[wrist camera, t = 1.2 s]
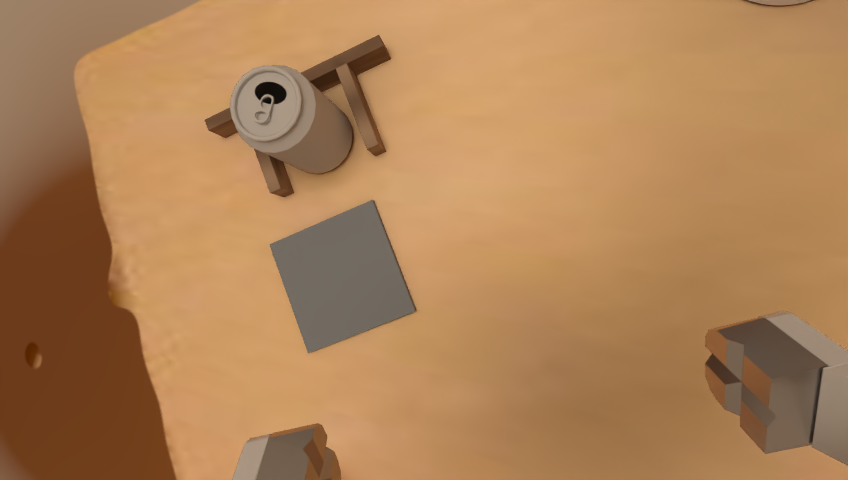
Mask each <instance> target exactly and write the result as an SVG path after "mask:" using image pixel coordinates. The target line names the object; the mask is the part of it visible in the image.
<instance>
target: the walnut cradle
mask: <svg viewBox="0 0 848 480" xmlns="http://www.w3.org/2000/svg"><path fill="white" fill-rule="evenodd" d="M389 59H391V58H390V56H389V53H388V51H387V48H386V47H385V45H384V43H383V41H382V40H381V38H380V36H379V35H377V36H375V37H373V38H371V39H369V40H367V41H365V42H363V43H361V44H359V45H357V46H355V47H353V48H351V49H349V50H347V51H345V52H343V53H341V54H339V55H337V56H334V57H332V58H330V59H328V60H326V61H324V62H322V63H320V64H318V65H316V66H314V67H312V68H310V69H308V70H306V71H304V72H302V73H301V74H302V75H303V76H304V77H305V78H306V79H307V80H308V81H310V82H311V83H312V84H313V85H314V86H315V87H316V88H317V89H318V90H319V91H320V92H322V91H324V90H327V89H329V88H331V87H333V86H335V85H337V84H339V83H341V84H342V86H343V89H344V91H345V94H346V96H347V99H348V102H349V104H350V107H351V109H352V112H353V114H354V117H355V120H356V122H357V125H358V127H359V130H360V132H361V135H362V138H363V140H364V143H365V145H366V148H367V150H369V151H370V152H371V153H372V154H374V155H375V156H377V155H379V154H381V153H384V152H386V150H385V147H384V145H383V142H382V140H381V137H380V135H379V132H378V130H377V127H376V125H375V122H374V119H373V117H372V114H371V112H370V109H369V107H368V104H367V102H366V99H365V97H364V94H363V92H362V89H361V86H360V84H359V81H358V79H357V76H356V75H358V74H360V73H362V72H364V71H366V70H368V69H370V68H373V67H375V66H377V65H379V64H381V63H383V62H385V61H387V60H389ZM205 122H206V125H207V128H208V130H209V131H211V132H213V133H216V134H218V135H220V136H222V137H225V138H226V137H228V136H230V135H232V134H235V133H237V132H238V131H237V129H236V127H235V124H234V122H233V120H232V116H231V111H230V108H228V109H226V110H224V111H222V112H220V113H218V114H216V115H214V116H212V117H210V118H208V119H205ZM254 150H255V152H256V155H257V158H258V161H259V164H260V166H261V169H262V172H263V175H264V177H265V180H266V183H267V186H268V189H269V191H270V193H272V194H275V195H279V196H282V197H285V196H288V195H290V194H292V193H294V191H293V189H292V186H291V183H290V181H289V178H288V175H287V172H286V170H285V167H284V164H283V161H281V160H278V159H276V158H274V157H272V156H270V155H267V154H265V153H263V152H261V151H259V150H256V149H254Z"/></svg>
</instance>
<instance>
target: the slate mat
mask: <svg viewBox="0 0 848 480" xmlns="http://www.w3.org/2000/svg"><path fill="white" fill-rule="evenodd" d="M270 247H271V250H272V253H273V256H274V258H275V261H276V264H277V267H278V270H279V273H280V275H281V278H282V281H283V284H284V287H285V289H286V292H287V295H288V298H289V301H290V303H291V306H292V309H293V312H294V315H295V318H296V320H297V323H298V326H299V329H300V332H301V334H302V337H303V340H304V343H305V346H306V348H307V351H308V353H310V352H313V351H315V350H318V349H320V348H323V347H326V346H328V345H331V344H333V343H336V342H338V341H341V340H344V339H346V338H349V337H351V336H354V335H356V334H359V333H361V332H364V331H367V330H369V329H372V328H374V327H377V326H379V325H382V324H384V323H387V322H390V321H392V320H395V319H397V318H400V317H402V316H405V315H408V314H410V313H413V312H415V311H416V308H415V306H414V303H413V301H412V298H411V295H410V293H409V290H408V288H407V285H406V282H405V280H404V277H403V275H402V272H401V269H400V267H399V264H398V262H397V259H396V256H395V254H394V251H393V249H392V246H391V243H390V241H389V238H388V236H387V233H386V231H385V228H384V225H383V223H382V220H381V218H380V215H379V212H378V210H377V207H376V205H375V202H374V201H373V200H371V201H369V202H367V203H364V204H362V205H360V206H357V207H355V208H353V209H350V210H348V211H346V212H343V213H341V214H339V215H337V216H334V217H332V218H330V219H327V220H325V221H323V222H320V223H318V224H316V225H314V226H311V227H309V228H307V229H304V230H302V231H300V232H297V233H295V234H293V235H290V236H288V237H286V238H284V239H281V240H279V241H277V242H274V243H272V244H270Z"/></svg>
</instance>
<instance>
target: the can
mask: <svg viewBox="0 0 848 480" xmlns="http://www.w3.org/2000/svg"><path fill="white" fill-rule="evenodd" d="M230 111H231V116H232V120H233V122H234V124H235V127H236V129H237V131H238V133H239V135H240V137H241V138H242V139H243V140H244V141H245V142H246V143H247V144H248V145H249V146H250V147H252V148H254V149H256V150H259V151H261V152H263V153H265V154H267V155H270V156H272V157H274V158H276V159H278V160H281V161H283V162H285V163H287V164H290V165H292V166H294V167H296V168H298V169H301V170H303V171H305V172H308V173H316V174H320V173H324V172H328V171H331V170H332V169H334V168H335V167H337V166H339V165H340V164H341V163H342V161H343V160H344V159H345V158H346V157H347V155H348V152H349V150H350V148H351V144H352V135H353V134H352V129H351V124H350V122H349V120H348V118H347V117H346V115H345V114H344V113H343V112H342V111H341V110H340V109H339V108H338V107H337V106H336V105H335V104H334V103H332V102H331V101H330V100H329V99H328V98H327V97H326V96H325V95H324V94H323V93H322V92H320V91H319V90H318V89H317V88H316V87H315V86H314V85H313V84H312V83H311V82H310V81H308V80H307V79H306V78H305V77H304V76H303V75H302V74H301V73H299V72H298V71H297V70H295V69H292V68H290V67H287V66H277V65H272V66H261V67H257V68H254V69H252V70H251V71H249V72H248V73H246V74H245V75H243V76H242V78H241V79H240V80H239V81H238V83H237V84H236V86H235V88H234V90H233V93H232V95H231V102H230Z"/></svg>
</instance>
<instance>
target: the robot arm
mask: <svg viewBox="0 0 848 480" xmlns="http://www.w3.org/2000/svg"><path fill="white" fill-rule="evenodd" d="M749 1H752V2H756V3H760V4H767V5H792V4H799V3H803V2H807V1H811V0H749ZM705 346H706V347H707V348H708V349H709V350H710V351H711V352H712V354H711V356H710V357H709V359H708V360H707V361H706V363H705V373H706V379H707V382H708V385H709V387H710V390H711V392H712V393H713V395H714V397H715V398H716V400H717V401H718V402H719V403H720V404H721V405H722V407H723V408H724V409H725V410H728V411H730V412H732V413H735V414H737V415H739V416H740V427H741V428H742V429H743V430H744V431H745V432H746V433H747V434H748V436H749V437H750V438H751V439H752V440H753V441H754V442H755V443H756V444H757V445H758V447H759V448H760V449H761V450H762V451H763V452H764V453H765V454H767V453H772V452H777V451H782V450H787V449H792V448H797V447H802V446H807V445H812V447H813V448H815V449H817V450H819V451H821V452H823V453H825V454H826V455H828V456H830V457H832V458H834V459H836V460H838V461H840V462H842V463H844V464H846V465H848V351H847V350H846V349H844V348H843V347H841V346H840V345H838V344H837V343H835V342H834V341H832V340H831V339H829V338H828V337H826V336H825V335H824V334H822V333H821V332H819V331H818V330H816V329H815V328H813V327H812V326H810V325H809V324H807V323H806V322H805V321H803V320H802V319H800V318H799V317H797V316H796V315H794V314H793V313H791V312H787V311H780V312H776V313H772V314H768V315H764V316H761V317H758V318H754V319H750V320H746V321H742V322H738V323H734V324H730V325H726V326H722V327H718V328H714V329H710V330H708V332H707V334H706V336H705ZM326 443H327V434H326V432H325V430H324V428H323V426H322V425H321V424H318V423H317V424H312V425H308V426H303V427H298V428H294V429H289V430H284V431H280V432H275V433H272V434H268V435H263V436H259V437H254V438H250V439H249V440H248V441H247V442H246V443H245V445H244V447H243V450H242V453H241V456H240V458H239V461H238V464H237V467H236V470H235V472H234V475H233V478H232V480H341V470H340V466H339V463H338V459H337V457H336V454H335V452H334V451H333V450H331V449H329V448H327V447H326Z"/></svg>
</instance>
